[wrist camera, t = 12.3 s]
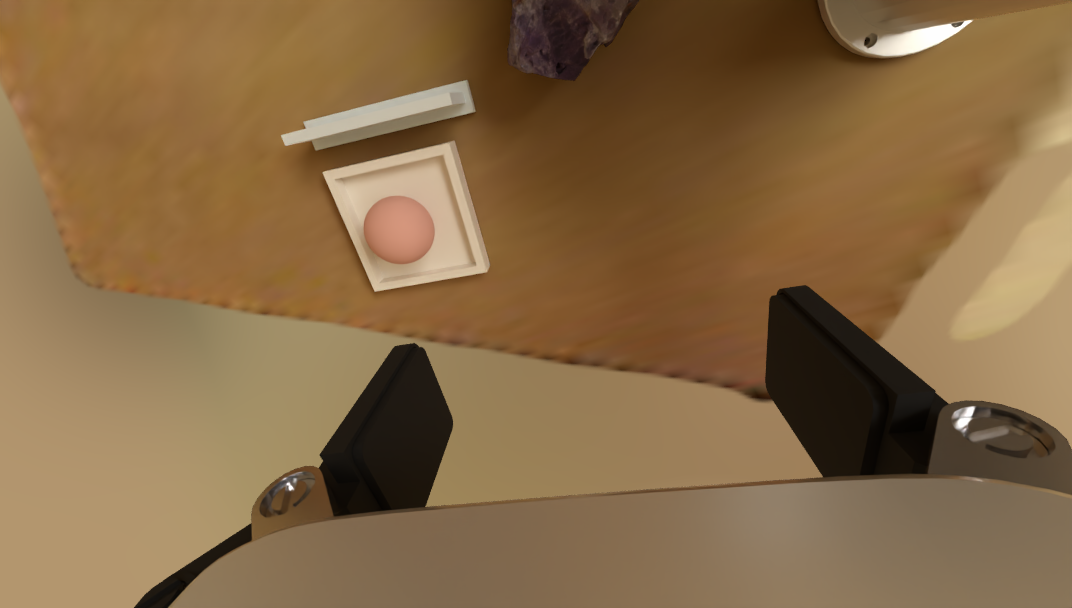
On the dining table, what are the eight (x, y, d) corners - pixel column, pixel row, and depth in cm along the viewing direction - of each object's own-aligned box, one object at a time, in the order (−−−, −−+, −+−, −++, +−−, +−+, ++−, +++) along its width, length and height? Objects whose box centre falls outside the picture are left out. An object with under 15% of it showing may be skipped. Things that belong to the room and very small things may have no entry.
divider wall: (467, 80, 33) (452, 78, 29) (475, 111, 34) (461, 114, 30) (307, 121, 36) (269, 125, 31) (319, 149, 37) (285, 157, 32)
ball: (431, 183, 37) (404, 199, 31) (451, 244, 39) (430, 269, 34) (372, 195, 38) (337, 213, 33) (396, 254, 40) (367, 279, 35)
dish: (454, 140, 35) (449, 142, 34) (490, 265, 41) (486, 272, 39) (332, 168, 37) (322, 172, 36) (381, 284, 43) (374, 291, 41)
